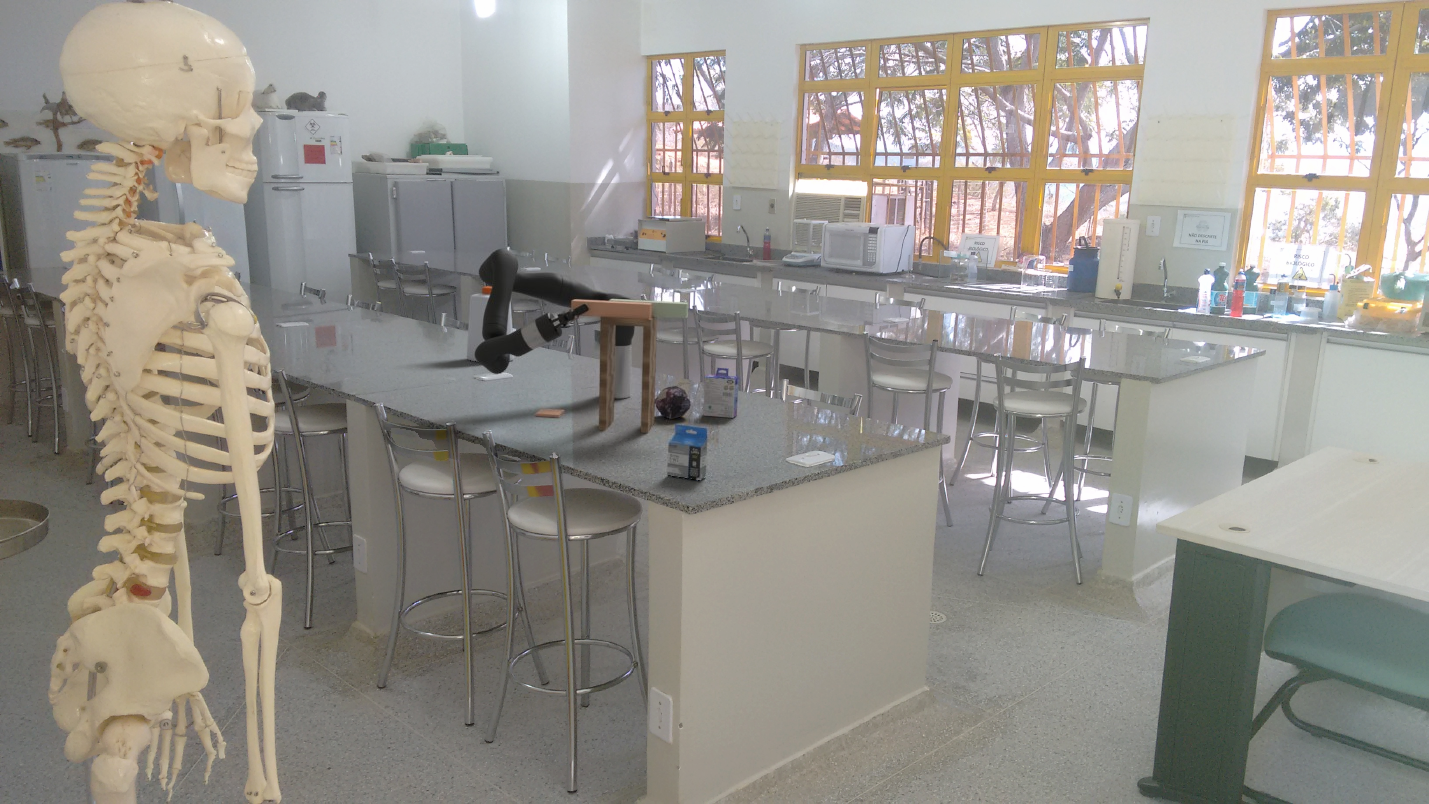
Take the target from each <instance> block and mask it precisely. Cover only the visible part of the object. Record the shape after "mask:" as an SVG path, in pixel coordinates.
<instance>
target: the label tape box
mask: <svg viewBox="0 0 1429 804" xmlns="http://www.w3.org/2000/svg"><path fill="white" fill-rule="evenodd" d="M674 429H675V430H674V434H673V436H672V438H671V439H670V440H669V441H668V447H667V448H668V449H667V467H666V472H667V473H666V476H667V475H671V476H670V477H672V476H680V477H687V478H692V479H699V480H700V479H702V478H704V477H705V476H706V473H707V458H708V457H707V455H708V454H707V452H708V428H707V427H701V426H693V425H686V424H679V423H675V425H674ZM687 431H692V432H695V433H692V432H687ZM706 477H707V476H706ZM706 477H705V478H706ZM705 478H704V479H705ZM700 481H701V480H700Z"/></svg>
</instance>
